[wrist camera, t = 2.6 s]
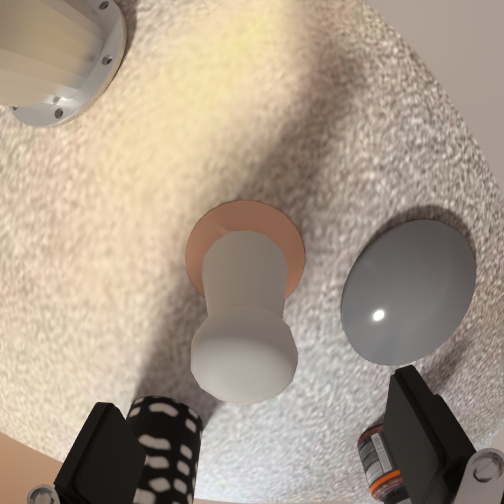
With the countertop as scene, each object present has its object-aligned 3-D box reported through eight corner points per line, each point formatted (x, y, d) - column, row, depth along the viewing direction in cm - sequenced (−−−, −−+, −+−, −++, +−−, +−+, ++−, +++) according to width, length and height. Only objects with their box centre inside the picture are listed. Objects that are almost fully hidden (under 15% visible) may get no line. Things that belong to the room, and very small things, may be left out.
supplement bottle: (408, 424, 30) (439, 490, 19) (377, 451, 32) (400, 516, 21) (378, 417, 29) (409, 492, 18) (346, 446, 31) (366, 519, 20)
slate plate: (334, 232, 22) (338, 235, 22) (473, 209, 22) (480, 212, 21) (341, 374, 27) (344, 380, 26) (460, 338, 26) (464, 343, 25)
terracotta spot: (174, 212, 22) (173, 213, 22) (295, 190, 22) (296, 191, 21) (201, 318, 25) (200, 320, 24) (309, 301, 24) (310, 303, 24)
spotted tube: (167, 386, 27) (117, 575, 8) (218, 431, 29) (206, 597, 10) (115, 408, 28) (58, 556, 9) (164, 448, 30) (136, 587, 11)
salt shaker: (211, 298, 24) (183, 426, 12) (201, 227, 22) (147, 316, 10) (286, 291, 24) (318, 418, 11) (281, 219, 22) (322, 302, 10)
